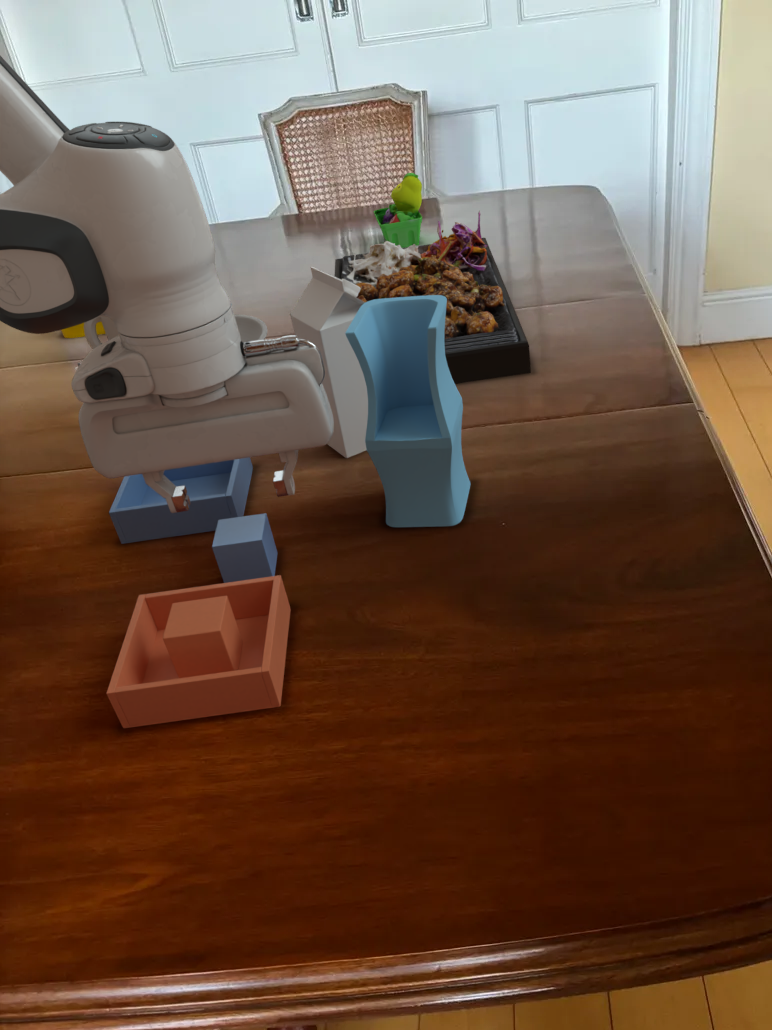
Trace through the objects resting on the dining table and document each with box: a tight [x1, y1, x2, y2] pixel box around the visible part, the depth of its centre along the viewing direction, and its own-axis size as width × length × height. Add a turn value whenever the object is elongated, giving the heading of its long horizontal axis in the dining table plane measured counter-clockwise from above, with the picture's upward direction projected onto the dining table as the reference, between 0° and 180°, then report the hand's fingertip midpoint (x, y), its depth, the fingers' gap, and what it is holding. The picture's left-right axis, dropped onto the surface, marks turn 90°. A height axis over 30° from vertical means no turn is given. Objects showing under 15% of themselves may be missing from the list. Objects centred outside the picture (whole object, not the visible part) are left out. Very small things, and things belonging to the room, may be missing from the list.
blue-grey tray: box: [108, 457, 254, 545], centre depth 94 cm, size 12×12×4 cm
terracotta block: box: [163, 596, 243, 678], centre depth 72 cm, size 4×4×5 cm
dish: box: [234, 313, 268, 342], centre depth 122 cm, size 18×14×5 cm
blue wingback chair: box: [345, 295, 471, 528], centre depth 83 cm, size 8×8×20 cm
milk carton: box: [289, 266, 368, 459], centre depth 97 cm, size 7×7×19 cm
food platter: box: [333, 210, 532, 385], centre depth 126 cm, size 45×25×10 cm, turn 5°
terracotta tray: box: [106, 574, 292, 729], centre depth 72 cm, size 12×12×4 cm
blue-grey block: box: [211, 512, 278, 583], centre depth 82 cm, size 4×4×5 cm
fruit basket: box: [373, 172, 423, 248], centre depth 159 cm, size 11×9×11 cm
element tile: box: [60, 321, 106, 339], centre depth 145 cm, size 15×15×5 cm
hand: (234, 500), depth 79 cm, fingers open, 8 cm apart
